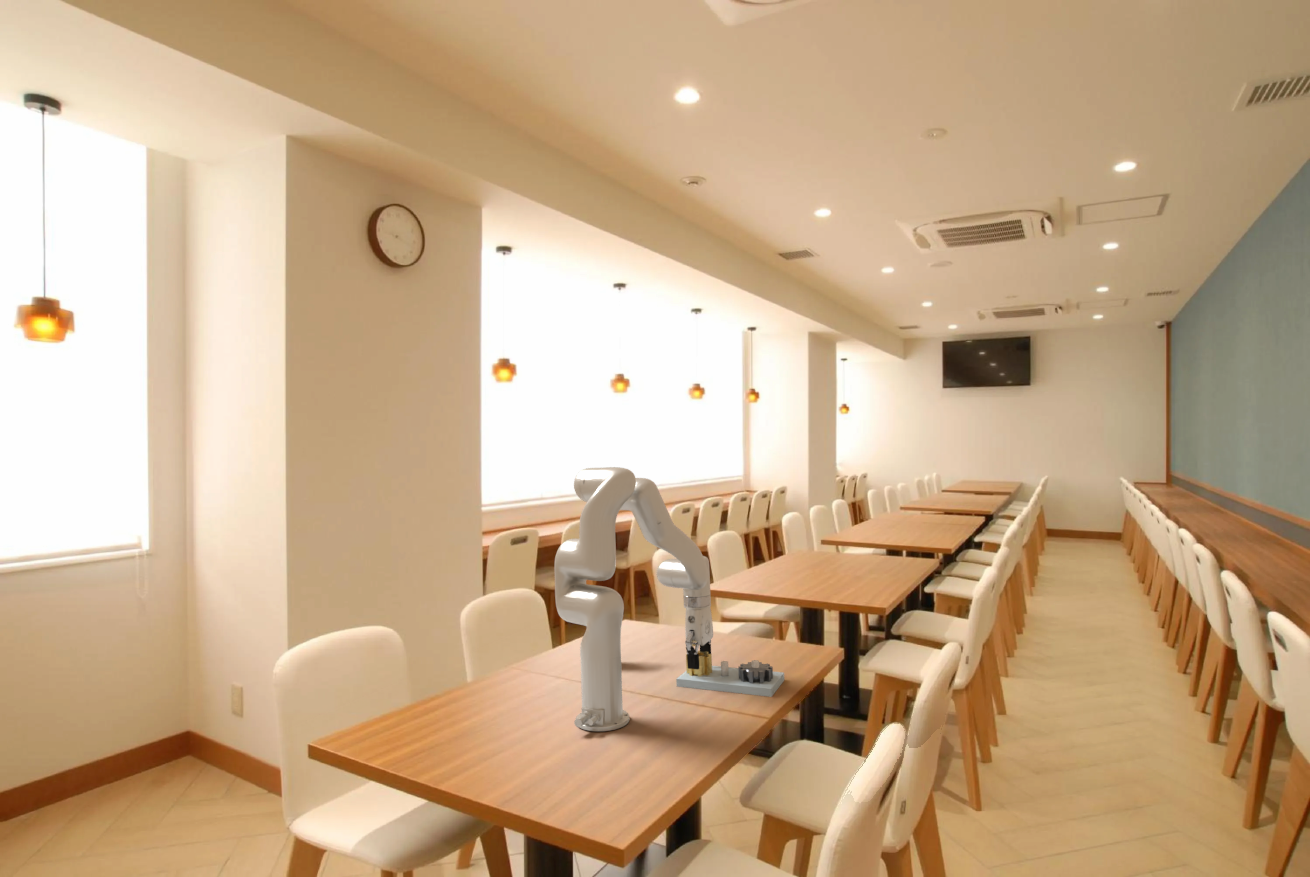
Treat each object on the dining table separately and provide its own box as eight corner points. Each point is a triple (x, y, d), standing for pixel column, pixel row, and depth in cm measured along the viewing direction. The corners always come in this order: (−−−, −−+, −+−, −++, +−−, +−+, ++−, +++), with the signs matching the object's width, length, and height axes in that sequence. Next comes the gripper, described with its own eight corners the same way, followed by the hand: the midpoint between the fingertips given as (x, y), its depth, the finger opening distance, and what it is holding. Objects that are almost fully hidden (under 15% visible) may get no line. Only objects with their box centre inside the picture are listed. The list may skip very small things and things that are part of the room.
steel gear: (767, 685, 182) (767, 673, 182) (734, 681, 186) (734, 670, 186) (776, 674, 190) (775, 663, 190) (744, 671, 194) (744, 660, 194)
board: (771, 696, 179) (770, 671, 179) (676, 686, 190) (675, 661, 190) (784, 680, 192) (783, 655, 192) (694, 671, 202) (694, 648, 203)
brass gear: (706, 677, 190) (706, 658, 190) (683, 675, 193) (682, 656, 193) (715, 670, 196) (714, 651, 196) (692, 667, 199) (691, 649, 199)
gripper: (699, 609, 186) (701, 674, 185) (720, 595, 201) (722, 655, 201) (672, 607, 189) (675, 671, 188) (695, 594, 204) (697, 653, 204)
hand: (699, 663), depth 195 cm, fingers open, 9 cm apart
